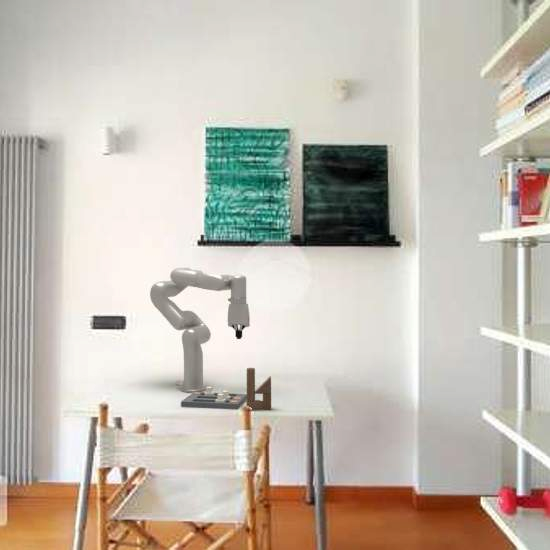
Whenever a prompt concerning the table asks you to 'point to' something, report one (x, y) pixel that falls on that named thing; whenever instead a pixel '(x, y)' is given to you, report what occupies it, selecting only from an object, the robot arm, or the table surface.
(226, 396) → the tab mid
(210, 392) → the tab far
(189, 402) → the switch board
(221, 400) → the tab near
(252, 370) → the brown notched upright part
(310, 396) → the table surface
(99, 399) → the table surface
